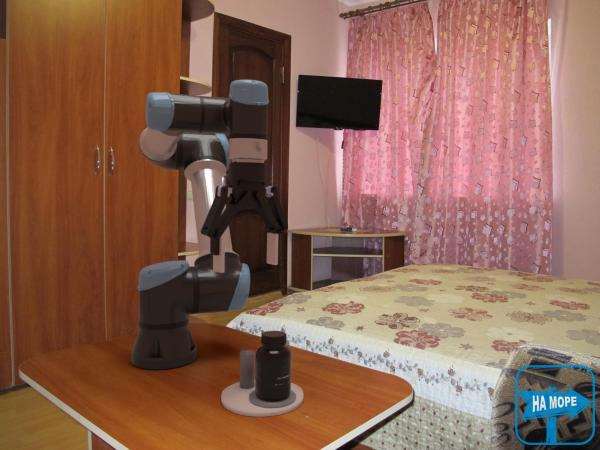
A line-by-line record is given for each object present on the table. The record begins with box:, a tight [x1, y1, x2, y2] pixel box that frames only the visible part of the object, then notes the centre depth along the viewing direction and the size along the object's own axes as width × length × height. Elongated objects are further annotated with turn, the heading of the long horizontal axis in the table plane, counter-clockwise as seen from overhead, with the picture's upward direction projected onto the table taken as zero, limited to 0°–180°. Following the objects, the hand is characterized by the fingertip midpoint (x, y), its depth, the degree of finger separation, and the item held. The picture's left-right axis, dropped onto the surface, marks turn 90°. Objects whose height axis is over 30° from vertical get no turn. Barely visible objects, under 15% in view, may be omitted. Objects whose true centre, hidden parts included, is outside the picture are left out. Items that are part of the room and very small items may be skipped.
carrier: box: [220, 349, 304, 418], centre depth 97 cm, size 16×16×8 cm
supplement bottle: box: [255, 330, 292, 402], centre depth 94 cm, size 7×7×12 cm
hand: (246, 267), depth 100 cm, fingers open, 13 cm apart
